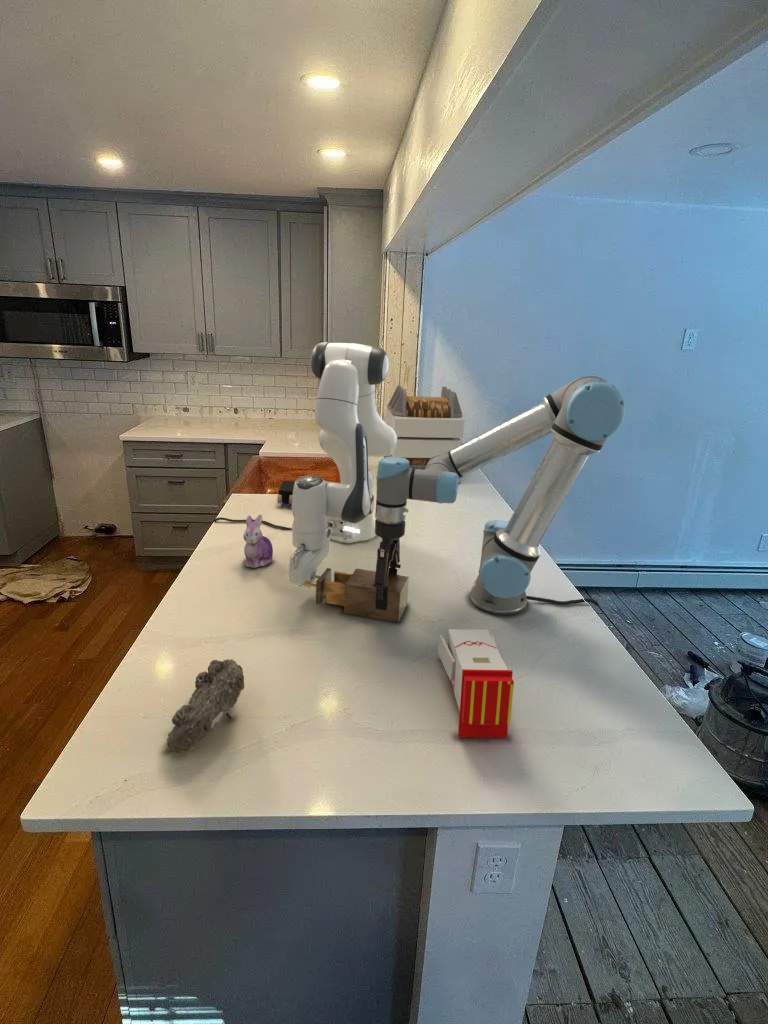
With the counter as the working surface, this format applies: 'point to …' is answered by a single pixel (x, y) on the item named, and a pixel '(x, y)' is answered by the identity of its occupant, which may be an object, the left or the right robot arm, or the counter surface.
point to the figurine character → (286, 493)
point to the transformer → (424, 425)
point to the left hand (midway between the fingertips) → (309, 585)
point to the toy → (478, 682)
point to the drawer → (330, 587)
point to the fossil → (206, 705)
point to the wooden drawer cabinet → (364, 596)
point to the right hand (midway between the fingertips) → (386, 599)
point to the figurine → (256, 544)
